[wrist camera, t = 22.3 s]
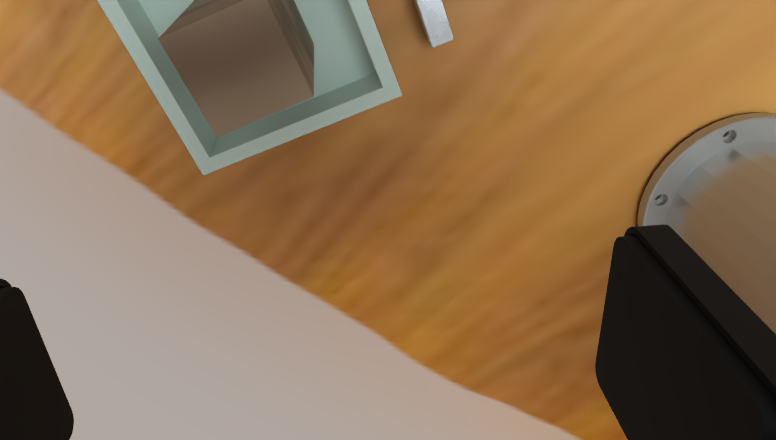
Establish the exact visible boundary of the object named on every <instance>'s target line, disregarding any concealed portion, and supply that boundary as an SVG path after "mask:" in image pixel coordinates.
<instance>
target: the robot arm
mask: <svg viewBox="0 0 776 440" xmlns="http://www.w3.org/2000/svg"><path fill="white" fill-rule="evenodd" d="M637 223H638V226H637V227H630V228H629V229H627V231H626V233H625V235H624V237H618V238H617V239H616V241H615V243H614V248H613V254H612V260H611V267H610V273H609V280H608V286H607V293H606V299H605V306H604V312H603V319H602V325H601V332H600V338H599V344H598V351H597V357H596V366H595V367H596V376H597V380H598V383H599V386H600V388H601V390H602V392H603V393H604V395H605V397H606V399H607V401H608V403H609V405H610V407H611V409H612V410H613V412H614V414H615V416H616V418H617V420H618V422H619V424H620V426H621V427H622V429H623V431H624V433H625V435H626V437H627V439H628V440H776V115H775V114H771V113H749V114H743V115H736V116H732V117H729V118H726V119H723V120H720V121H717V122H715V123H713V124H711V125H709V126H707V127H705V128H703V129H701V130H699V131H697V132H696V133H695V134H693V135H692V136H690V137H689V138H688V139H686V140H685V141H683V142H682V143H681V144H680V145H678V146H677V147H676V148H675V149H674V150H673V151H672V152H671V153H670V154H669V155H668V156H667V157H666V158H665V159H664V161H663V162H662V163H661V164H660V166H659V167H658V168H657V170H656V171H655V172H654V174H653V176H652V177H651V179H650V181H649V183H648V184H647V186H646V188H645V191H644V193H643V196H642V199H641V202H640V205H639V212H638V219H637ZM73 424H74V419H73V413H72V410H71V407H70V405H69V402H68V400H67V398H66V395H65V393H64V390H63V388H62V386H61V383H60V381H59V378H58V376H57V373H56V371H55V369H54V366H53V364H52V362H51V359H50V357H49V354H48V352H47V350H46V347H45V345H44V342H43V340H42V338H41V335H40V333H39V330H38V328H37V325H36V323H35V320H34V318H33V316H32V313H31V311H30V308H29V306H28V304H27V301H26V299H25V296H24V294H23V293H22V291H21V290H20V289H19V288H16V287H11V285H10V284H9V283H8V282H7V281H6V280H3V279H0V440H69V439H70V437H71V434H72V431H73Z"/></svg>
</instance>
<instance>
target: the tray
mask: <svg viewBox="0 0 776 440" xmlns="http://www.w3.org/2000/svg"><path fill="white" fill-rule="evenodd" d="M97 1H98V2H99V4H100V5H101V7H102V9H103V10H104V12H105V14H106V15H107V17H108V19H109V20H110V22H111V24H112V25H113V27H114V29H115V30H116V32H117V34H118V35H119V37H120V39H121V40H122V42H123V44H124V45H125V47H126V48H127V50H128V52H129V53H130V55H131V57H132V58H133V60H134V62H135V63H136V65H137V67H138V68H139V70H140V72H141V73H142V75H143V77H144V78H145V80H146V82H147V83H148V85H149V87H150V88H151V90H152V91H153V93H154V95H155V96H156V98H157V100H158V101H159V103H160V105H161V106H162V108H163V110H164V111H165V113H166V115H167V116H168V118H169V120H170V121H171V123H172V125H173V126H174V128H175V130H176V131H177V133H178V134H179V136H180V138H181V139H182V141H183V143H184V144H185V146H186V148H187V149H188V151H189V153H190V154H191V156H192V158H193V159H194V161H195V163H196V164H197V166H198V168H199V169H200V171H201V173H202V174H203V176H204V175H206V174H208V173H211V172H213V171H216V170H218V169H221V168H223V167H226V166H228V165H231V164H233V163H236V162H238V161H241V160H243V159H246V158H248V157H251V156H253V155H256V154H258V153H261V152H263V151H266V150H268V149H271V148H273V147H276V146H278V145H281V144H283V143H286V142H288V141H291V140H293V139H296V138H298V137H300V136H303V135H305V134H308V133H310V132H313V131H315V130H318V129H320V128H323V127H325V126H328V125H330V124H333V123H335V122H338V121H340V120H343V119H345V118H348V117H350V116H353V115H355V114H358V113H360V112H363V111H365V110H368V109H370V108H373V107H375V106H378V105H380V104H383V103H385V102H387V101H390V100H392V99H395V98H397V97H400V96H402V93H401V90H400V88H399V85H398V82H397V80H396V77H395V75H394V72H393V69H392V67H391V64H390V61H389V59H388V56H387V54H386V51H385V48H384V46H383V43H382V41H381V38H380V35H379V33H378V30H377V27H376V25H375V22H374V20H373V17H372V14H371V12H370V9H369V6H368V4H367V1H366V0H294V1H295V4H296V6H297V8H298V10H299V12H300V14H301V17H302V19H303V21H304V23H305V25H306V27H307V30H308V32H309V34H310V36H311V38H312V41H313V43H314V97H312V98H309V99H307V100H305V101H302V102H300V103H298V104H295V105H293V106H291V107H288V108H286V109H284V110H281V111H279V112H277V113H274V114H272V115H270V116H267V117H265V118H263V119H260V120H258V121H255V122H253V123H251V124H248V125H246V126H244V127H241V128H239V129H237V130H234V131H232V132H230V133H227V134H225V135H223V136H220V137H218V138H216V136H215V134H214V133H213V131H212V129H211V127H210V126H209V124H208V122H207V121H206V119H205V117H204V116H203V114H202V112H201V111H200V109H199V107H198V106H197V104H196V102H195V100H194V99H193V97H192V95H191V94H190V92H189V90H188V89H187V87H186V85H185V84H184V82H183V80H182V79H181V77H180V75H179V73H178V72H177V70H176V68H175V67H174V65H173V63H172V62H171V60H170V58H169V57H168V55H167V53H166V52H165V50H164V48H163V46H162V45H161V43H160V41H159V40H158V38H159V37H160V36H161V35H162V34H163V33H164V32H165V31H166V30H167V29H168V28H169V26H170V25H171V24H172V23H173V22H174V21H175V20H176V19H177V18H178V17H179V16H180V15H181V14H182V13H183V12H184V11H185V10H186V9H187V8H188V6H189V5H190V4H191V3H192V2H193V1H194V0H97Z"/></svg>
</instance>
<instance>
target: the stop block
mask: <svg viewBox="0 0 776 440" xmlns="http://www.w3.org/2000/svg"><path fill="white" fill-rule="evenodd" d="M158 40H159V41H160V43H161V45H162V46H163V48H164V50H165V52H166V53H167V55H168V57H169V58H170V60H171V62H172V63H173V65H174V67H175V68H176V70H177V72H178V73H179V75H180V77H181V79H182V80H183V82H184V84H185V85H186V87H187V89H188V90H189V92H190V94H191V95H192V97H193V99H194V100H195V102H196V104H197V106H198V107H199V109H200V111H201V112H202V114H203V116H204V117H205V119H206V121H207V122H208V124H209V126H210V127H211V129H212V131H213V133H214V134H215V136H216V138H218V137H220V136H223V135H225V134H227V133H230V132H232V131H234V130H237V129H239V128H241V127H244V126H246V125H248V124H251V123H253V122H255V121H258V120H260V119H263V118H265V117H267V116H270V115H272V114H274V113H277V112H279V111H281V110H284V109H286V108H288V107H291V106H293V105H295V104H298V103H300V102H302V101H305V100H307V99H309V98H312V97H314V43H313V41H312V38H311V36H310V34H309V32H308V30H307V27H306V25H305V23H304V21H303V19H302V17H301V14H300V12H299V10H298V8H297V6H296V4H295V1H294V0H194V1H193V2H192V3H191V4H190V5H189V6H188V8H187V9H186V10H185V11H184V12H183V13H182V14H181V15H180V16H179V17H178V18H177V19H176V20H175V21H174V22H173V23H172V24H171V25H170V26H169V28H168V29H167V30H166V31H165V32H164V33H163V34H162V35H161V36H160V37H159V38H158Z"/></svg>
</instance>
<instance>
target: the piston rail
mask: <svg viewBox="0 0 776 440" xmlns="http://www.w3.org/2000/svg"><path fill="white" fill-rule="evenodd" d="M414 3H415V6H416V9H417V12H418V15H419V18H420V21H421V24H422V26H423V29H424V32H425V35H426V38H427V40H428V42H429V43H430V45H431V46H432V48H434V47H436V46H438V45H441V44H443V43H446V42H448V41H451V40H453V39H454V38H453V35H452V32H451V29H450V26H449V22H448V19H447V16H446V13H445V10H444V7H443V4H442V0H414Z"/></svg>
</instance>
